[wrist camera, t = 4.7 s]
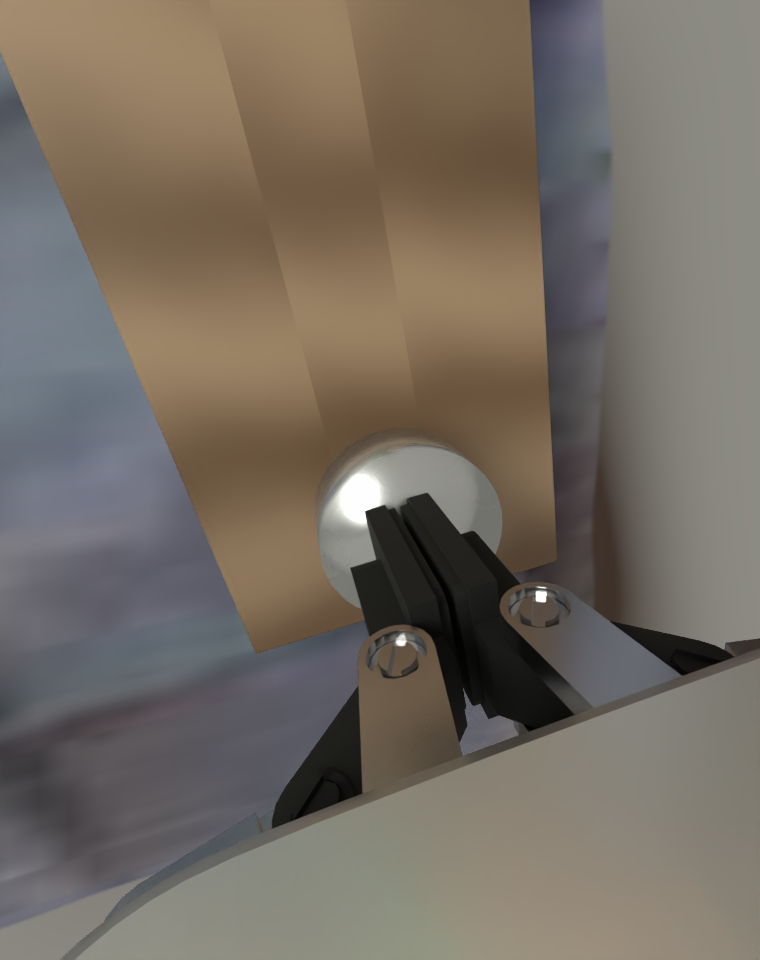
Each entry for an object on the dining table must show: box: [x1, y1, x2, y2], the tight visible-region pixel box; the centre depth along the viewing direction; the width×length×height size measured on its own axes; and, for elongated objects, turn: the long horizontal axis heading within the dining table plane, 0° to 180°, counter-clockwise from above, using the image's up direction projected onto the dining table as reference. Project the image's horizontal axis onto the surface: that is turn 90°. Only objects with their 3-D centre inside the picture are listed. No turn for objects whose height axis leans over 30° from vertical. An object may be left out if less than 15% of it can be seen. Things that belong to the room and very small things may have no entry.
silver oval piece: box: [314, 428, 502, 609], centre depth 15 cm, size 5×5×7 cm
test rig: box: [0, 0, 557, 654], centre depth 14 cm, size 26×12×5 cm, turn 12°
